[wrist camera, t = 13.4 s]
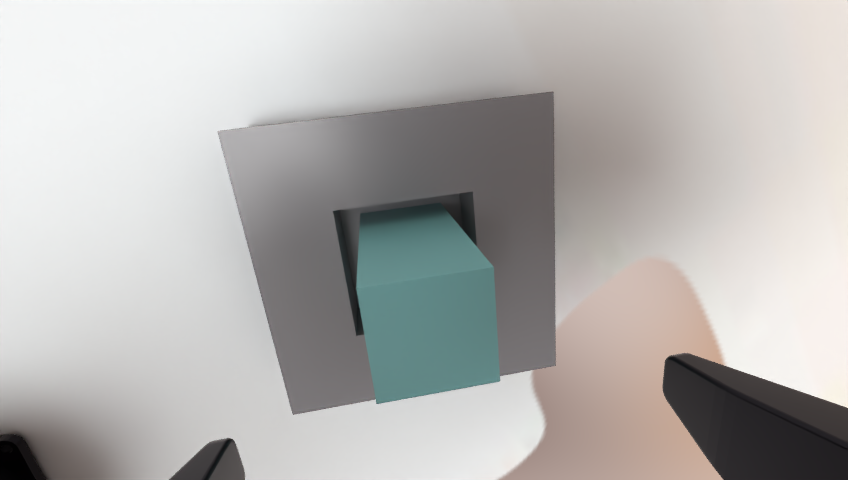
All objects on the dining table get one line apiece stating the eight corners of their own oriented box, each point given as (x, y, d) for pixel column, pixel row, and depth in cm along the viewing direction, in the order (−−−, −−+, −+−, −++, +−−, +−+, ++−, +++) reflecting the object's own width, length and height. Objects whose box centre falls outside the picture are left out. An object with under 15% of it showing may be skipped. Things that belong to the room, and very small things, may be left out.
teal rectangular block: (447, 275, 19) (500, 381, 12) (372, 287, 19) (376, 404, 11) (440, 202, 18) (493, 267, 10) (360, 213, 18) (356, 288, 10)
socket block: (526, 327, 22) (555, 365, 19) (304, 366, 21) (292, 414, 17) (519, 95, 18) (553, 91, 15) (246, 127, 17) (217, 131, 14)
